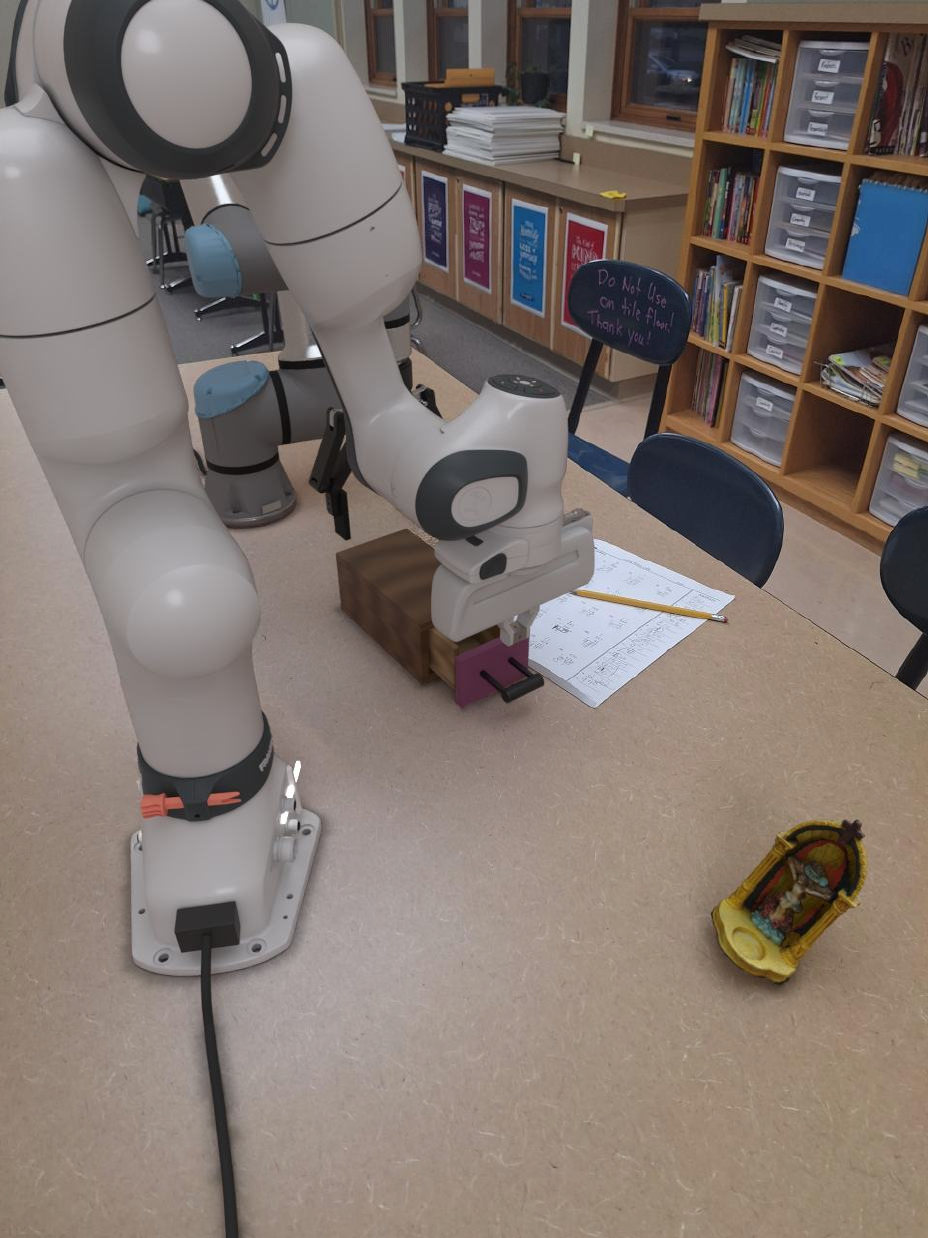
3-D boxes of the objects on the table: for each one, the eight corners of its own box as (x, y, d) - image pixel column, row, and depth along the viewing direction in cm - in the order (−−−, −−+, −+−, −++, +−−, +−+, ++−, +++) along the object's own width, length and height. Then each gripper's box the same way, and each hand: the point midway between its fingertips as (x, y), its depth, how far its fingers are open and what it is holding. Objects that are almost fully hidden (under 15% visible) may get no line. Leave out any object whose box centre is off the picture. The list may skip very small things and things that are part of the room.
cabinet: (494, 651, 112) (496, 593, 107) (422, 684, 107) (420, 625, 101) (409, 582, 126) (406, 527, 120) (341, 608, 120) (335, 552, 115)
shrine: (791, 892, 81) (830, 781, 73) (851, 966, 75) (901, 853, 66) (686, 929, 78) (714, 817, 69) (739, 1009, 72) (776, 896, 63)
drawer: (558, 701, 103) (562, 654, 98) (491, 736, 98) (492, 688, 94) (440, 605, 119) (439, 562, 115) (377, 631, 114) (373, 586, 110)
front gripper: (573, 492, 96) (565, 596, 104) (420, 549, 86) (424, 658, 94) (613, 514, 91) (601, 620, 99) (457, 577, 82) (458, 688, 90)
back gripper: (448, 329, 108) (450, 483, 120) (265, 371, 96) (288, 537, 108) (484, 345, 103) (483, 503, 115) (296, 390, 91) (317, 562, 103)
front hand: (514, 639), depth 97 cm, fingers closed
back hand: (388, 520), depth 111 cm, fingers open, 13 cm apart
